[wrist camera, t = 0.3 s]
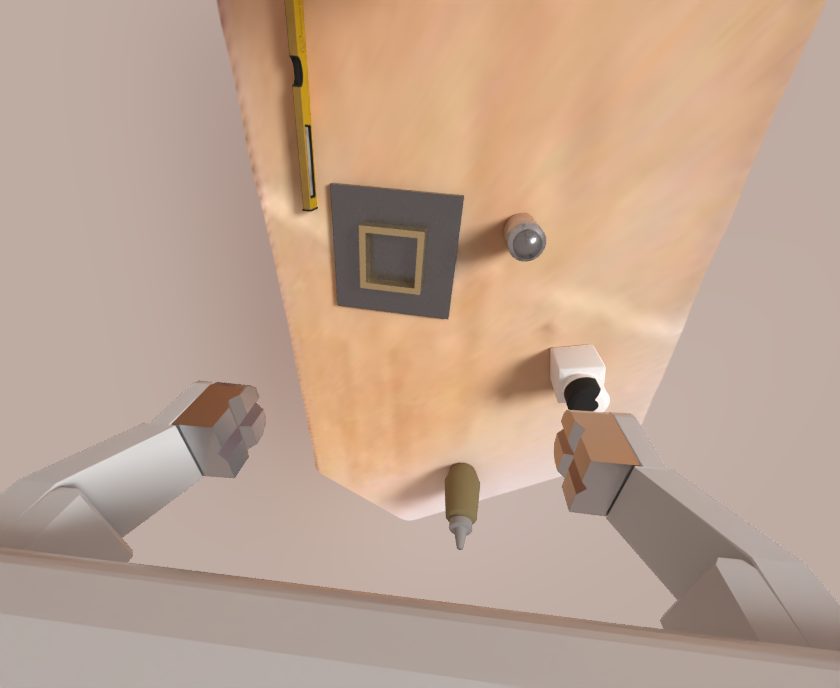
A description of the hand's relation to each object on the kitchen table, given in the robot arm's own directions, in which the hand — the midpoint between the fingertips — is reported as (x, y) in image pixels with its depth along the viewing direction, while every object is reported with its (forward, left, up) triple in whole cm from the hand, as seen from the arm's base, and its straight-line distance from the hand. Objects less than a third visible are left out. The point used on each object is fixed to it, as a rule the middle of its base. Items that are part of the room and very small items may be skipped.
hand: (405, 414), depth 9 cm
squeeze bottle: (+61, +8, -48) cm, 78 cm away
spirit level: (-12, -23, -48) cm, 54 cm away
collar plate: (+11, -10, -48) cm, 50 cm away
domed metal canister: (+5, +9, -48) cm, 49 cm away
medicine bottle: (+27, +23, -48) cm, 59 cm away
